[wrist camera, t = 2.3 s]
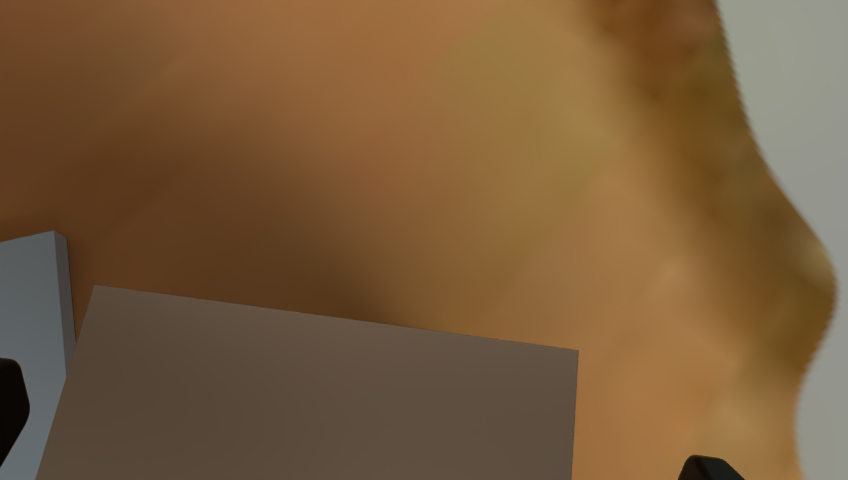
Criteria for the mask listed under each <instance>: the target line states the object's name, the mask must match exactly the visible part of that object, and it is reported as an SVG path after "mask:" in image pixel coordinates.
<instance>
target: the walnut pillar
mask: <svg viewBox="0 0 848 480" xmlns="http://www.w3.org/2000/svg"><path fill="white" fill-rule="evenodd" d="M578 353H579V350H572V349H565V348H558V347H550V346H543V345H536V344H528V343H521V342H514V341H506V340H499V339H492V338H484V337H477V336H470V335H462V334H455V333H448V332H440V331H433V330H425V329H418V328H411V327H403V326H396V325H389V324H381V323H374V322H367V321H359V320H352V319H345V318H337V317H330V316H323V315H315V314H308V313H301V312H293V311H286V310H279V309H271V308H264V307H257V306H249V305H242V304H235V303H227V302H220V301H212V300H205V299H198V298H190V297H183V296H176V295H168V294H161V293H154V292H146V291H139V290H132V289H124V288H117V287H110V286H102V285H95V284H94V287H93V290H92V294H91V297H90V300H89V303H88V307H87V310H86V313H85V317H84V320H83V323H82V327H81V330H80V333H79V336H78V340H77V343H76V346H75V350H74V353H73V356H72V360H71V363H70V366H69V370H68V373H67V376H66V379H65V383H64V386H63V389H62V393H61V396H60V399H59V403H58V406H57V409H56V412H55V416H54V419H53V422H52V426H51V429H50V432H49V436H48V439H47V442H46V446H45V449H44V452H43V455H42V459H41V462H40V465H39V469H38V472H37V475H36V479H35V480H571V476H572V459H573V441H574V423H575V406H576V388H577V370H578Z"/></svg>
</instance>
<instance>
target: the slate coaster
mask: <svg viewBox="0 0 848 480" xmlns="http://www.w3.org/2000/svg"><path fill="white" fill-rule="evenodd" d="M75 346H76V338H75V327H74V316H73V305H72V294H71V283H70V272H69V261H68V250H67V239H66V237H65V236H63V235H61V234H60V233H58V232H56V231H54V230H52V231H48V232H43V233H39V234H35V235H30V236H26V237H21V238H17V239H12V240H8V241H3V242H0V357H1V358H8V359H13V360H15V361H17V363H18V364H19V365H20V367H21V370H22V374H23V378H24V382H25V386H26V390H27V394H28V398H29V402H30V413H29V417H28V420H27V423H26V425H25V427H24V428H23V430H22V432H21V433H20V435H19V437H18V439H17V440H16V442H15V444H14V445H13V447H12V449H11V451H10V452H9V454H8V456H7V457H6V459H5V461H4V463H3V464H2V466H1V468H0V480H35V479H36V475H37V472H38V469H39V465H40V462H41V459H42V455H43V452H44V449H45V446H46V442H47V439H48V436H49V432H50V429H51V426H52V422H53V419H54V416H55V412H56V409H57V406H58V403H59V399H60V396H61V393H62V389H63V386H64V383H65V379H66V376H67V373H68V370H69V366H70V363H71V360H72V356H73V353H74V350H75Z"/></svg>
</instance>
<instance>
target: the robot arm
mask: <svg viewBox="0 0 848 480" xmlns="http://www.w3.org/2000/svg"><path fill="white" fill-rule="evenodd" d="M29 413H30V402H29V398H28V394H27V390H26V386H25V382H24V378H23V374H22V370H21V367H20V365H19V364H18V363H17V361H15V360H13V359H8V358H1V357H0V468H1V466H2V464H3V463H4V461H5V459H6V457H7V456H8V454H9V452H10V451H11V449H12V447H13V445H14V444H15V442H16V440H17V439H18V437H19V435H20V433H21V432H22V430H23V428H24V427H25V425H26V423H27V420H28V417H29ZM678 480H745V479H744V478H743V477H742V476H741V475H740V474H739V473H738V472H737V471H735V470H734V469H733V468H732V467H731V466H730V465H729V464H728V463H727V462H726V461H724V460H723V459H720V458H715V457H708V456H701V455H692V456H690V457H689V458H688V459H687V460H686V462H685V464H684V466H683V468H682V471H681V473H680V475H679V478H678Z"/></svg>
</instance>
